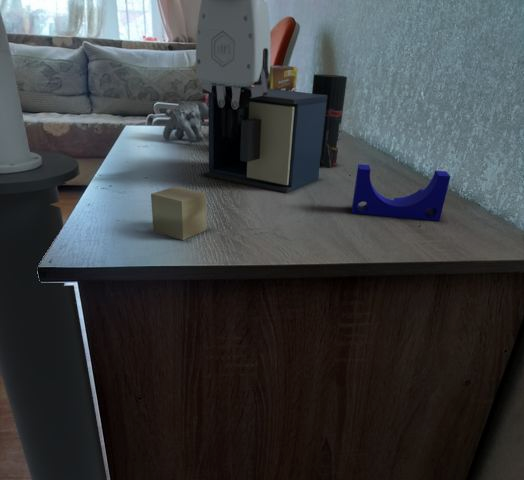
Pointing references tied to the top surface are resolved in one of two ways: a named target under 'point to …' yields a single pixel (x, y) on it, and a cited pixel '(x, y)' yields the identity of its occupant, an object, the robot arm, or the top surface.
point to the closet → (302, 149)
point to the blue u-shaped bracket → (413, 206)
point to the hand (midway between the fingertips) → (232, 136)
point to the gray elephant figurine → (186, 120)
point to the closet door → (267, 142)
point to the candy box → (282, 78)
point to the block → (179, 212)
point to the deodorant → (331, 114)
